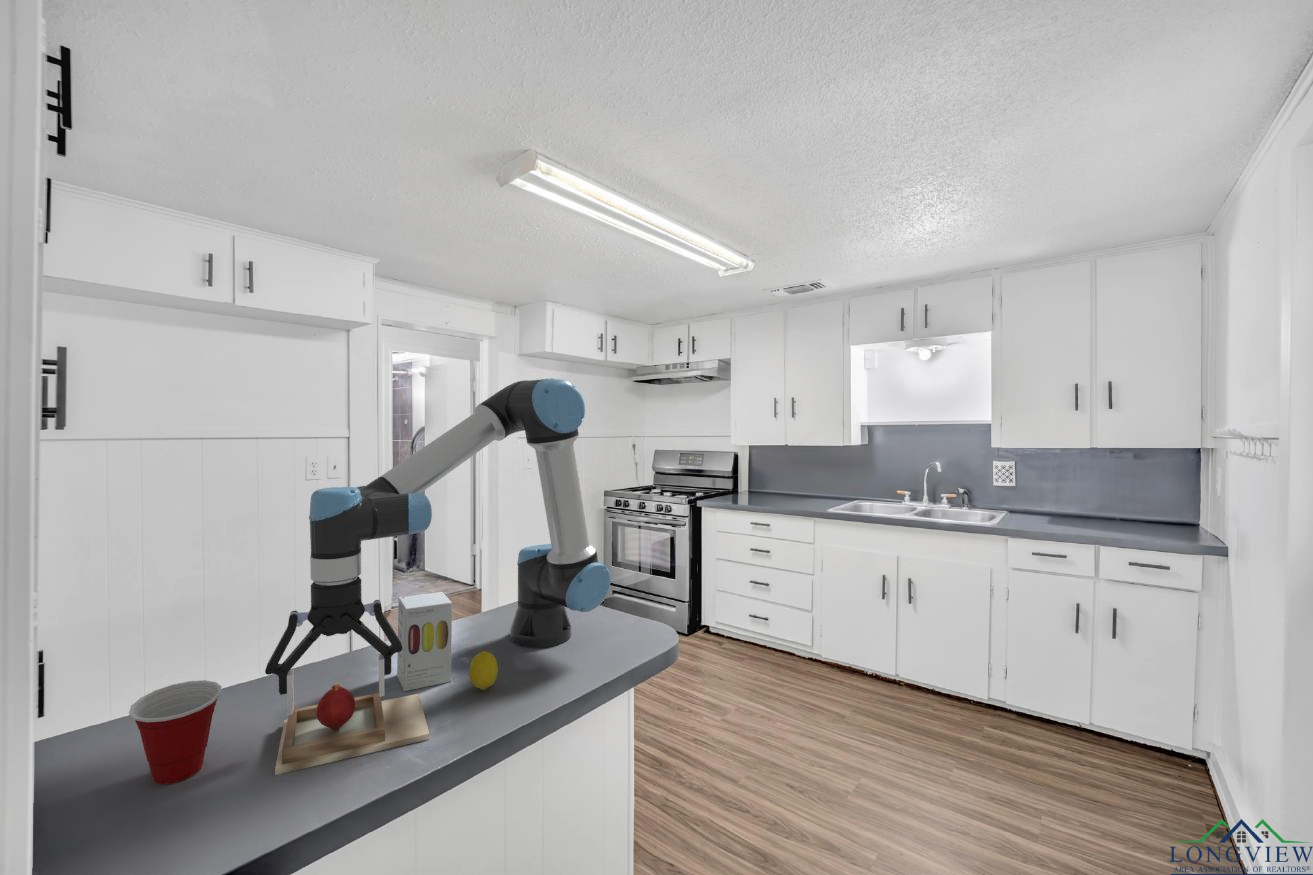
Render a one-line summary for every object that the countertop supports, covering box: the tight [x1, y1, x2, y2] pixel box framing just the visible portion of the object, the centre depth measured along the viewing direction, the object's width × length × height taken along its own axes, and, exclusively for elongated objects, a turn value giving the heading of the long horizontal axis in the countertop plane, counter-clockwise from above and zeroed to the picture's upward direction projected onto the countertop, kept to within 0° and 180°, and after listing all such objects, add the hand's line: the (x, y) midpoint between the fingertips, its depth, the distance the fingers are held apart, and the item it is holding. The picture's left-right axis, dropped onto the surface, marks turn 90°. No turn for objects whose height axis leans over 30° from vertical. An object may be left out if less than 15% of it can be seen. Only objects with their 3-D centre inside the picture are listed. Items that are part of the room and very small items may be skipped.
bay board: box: [274, 692, 430, 776], centre depth 100 cm, size 22×16×3 cm
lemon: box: [468, 650, 499, 691], centre depth 116 cm, size 6×6×8 cm
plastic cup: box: [128, 679, 222, 785], centre depth 87 cm, size 11×11×12 cm
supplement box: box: [396, 591, 453, 692], centre depth 121 cm, size 10×9×17 cm
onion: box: [316, 683, 355, 730], centre depth 98 cm, size 6×6×8 cm
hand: (337, 702), depth 98 cm, fingers open, 13 cm apart
